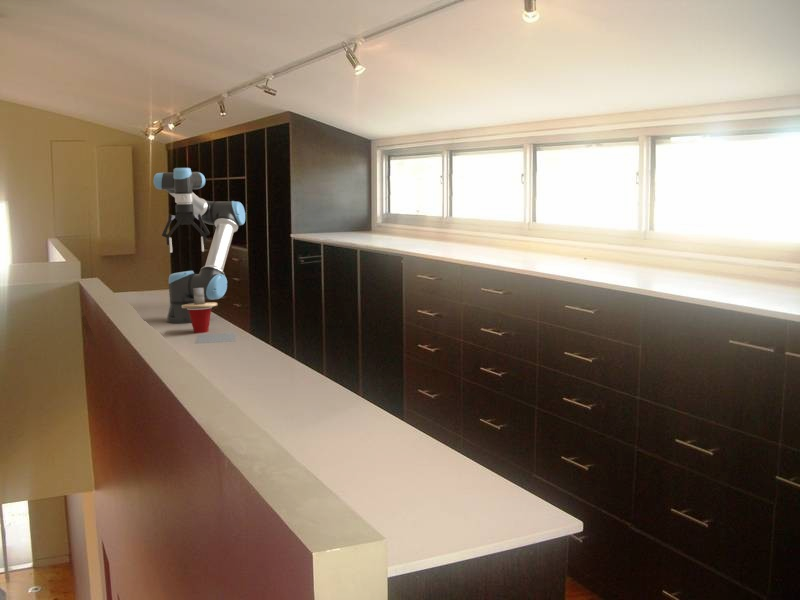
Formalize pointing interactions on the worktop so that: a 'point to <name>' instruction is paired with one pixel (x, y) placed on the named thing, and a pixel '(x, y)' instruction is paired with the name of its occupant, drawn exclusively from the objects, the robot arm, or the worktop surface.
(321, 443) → the worktop surface
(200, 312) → the plastic cup
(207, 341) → the mat
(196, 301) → the lid
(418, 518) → the worktop surface
